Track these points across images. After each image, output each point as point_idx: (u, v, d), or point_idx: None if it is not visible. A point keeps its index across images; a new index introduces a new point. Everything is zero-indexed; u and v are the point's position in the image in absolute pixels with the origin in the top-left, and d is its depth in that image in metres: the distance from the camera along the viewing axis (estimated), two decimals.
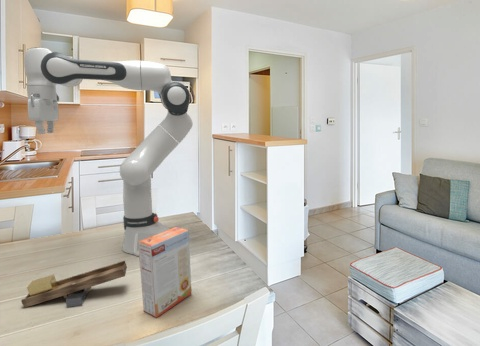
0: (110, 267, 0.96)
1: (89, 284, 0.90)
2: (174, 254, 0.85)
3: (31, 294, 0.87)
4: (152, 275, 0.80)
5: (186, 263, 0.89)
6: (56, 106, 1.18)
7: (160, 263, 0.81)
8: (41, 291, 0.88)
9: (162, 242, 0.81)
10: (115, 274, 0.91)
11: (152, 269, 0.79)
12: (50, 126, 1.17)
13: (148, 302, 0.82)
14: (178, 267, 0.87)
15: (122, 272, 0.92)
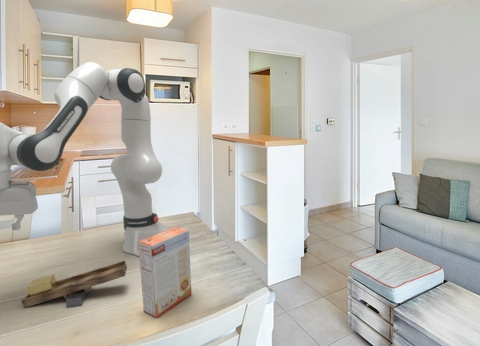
0: (110, 267, 0.96)
1: (89, 284, 0.90)
2: (174, 254, 0.85)
3: (31, 294, 0.87)
4: (152, 275, 0.80)
5: (186, 263, 0.89)
6: None
7: (160, 263, 0.81)
8: (41, 291, 0.88)
9: (162, 242, 0.81)
10: (115, 274, 0.91)
11: (152, 269, 0.79)
12: None
13: (148, 302, 0.82)
14: (178, 267, 0.87)
15: (122, 272, 0.92)
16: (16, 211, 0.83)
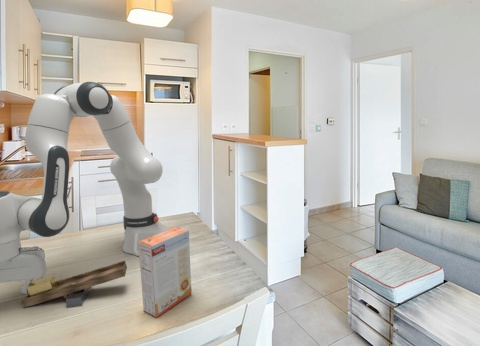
0: (110, 267, 0.96)
1: (89, 284, 0.90)
2: (174, 254, 0.85)
3: (31, 294, 0.87)
4: (152, 275, 0.80)
5: (186, 263, 0.89)
6: None
7: (160, 263, 0.81)
8: (41, 291, 0.88)
9: (162, 242, 0.81)
10: (115, 274, 0.91)
11: (152, 269, 0.79)
12: None
13: (148, 302, 0.82)
14: (178, 267, 0.87)
15: (122, 272, 0.92)
16: (26, 277, 0.86)
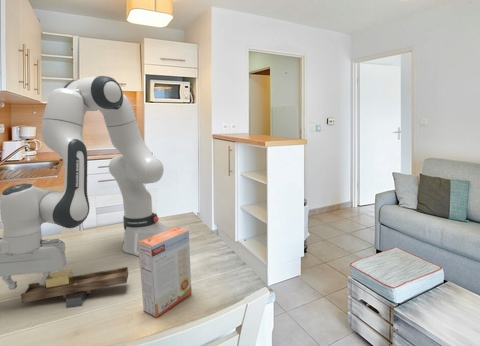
0: (112, 272, 0.96)
1: (90, 287, 0.90)
2: (174, 254, 0.85)
3: (48, 287, 0.88)
4: (152, 275, 0.80)
5: (186, 263, 0.89)
6: None
7: (160, 263, 0.81)
8: (58, 285, 0.88)
9: (162, 242, 0.81)
10: (117, 280, 0.92)
11: (152, 269, 0.79)
12: (10, 280, 0.87)
13: (148, 302, 0.82)
14: (178, 267, 0.87)
15: (124, 279, 0.92)
16: (47, 269, 0.87)
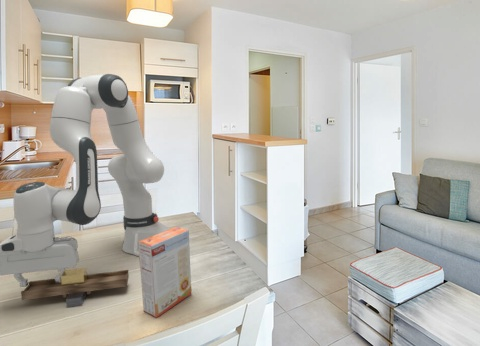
0: (113, 274, 0.96)
1: (91, 288, 0.90)
2: (174, 254, 0.85)
3: (63, 283, 0.89)
4: (152, 275, 0.80)
5: (186, 263, 0.89)
6: None
7: (160, 263, 0.81)
8: (73, 282, 0.89)
9: (162, 242, 0.81)
10: (118, 282, 0.92)
11: (152, 269, 0.79)
12: (21, 278, 0.88)
13: (148, 302, 0.82)
14: (178, 267, 0.87)
15: (125, 282, 0.93)
16: (60, 266, 0.88)
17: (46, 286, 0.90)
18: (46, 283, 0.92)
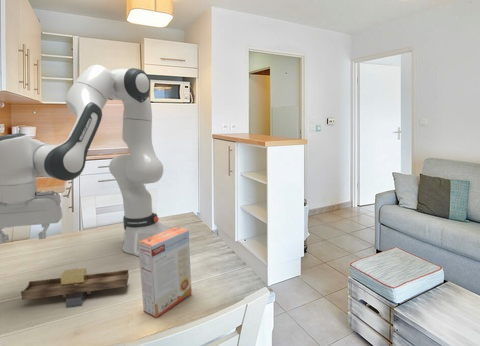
0: (113, 274, 0.96)
1: (91, 288, 0.90)
2: (174, 254, 0.85)
3: (63, 284, 0.89)
4: (152, 275, 0.80)
5: (186, 263, 0.89)
6: None
7: (160, 263, 0.81)
8: (73, 282, 0.89)
9: (162, 242, 0.81)
10: (118, 282, 0.92)
11: (152, 269, 0.79)
12: (1, 233, 0.85)
13: (148, 302, 0.82)
14: (178, 267, 0.87)
15: (125, 282, 0.93)
16: (43, 221, 0.85)
17: (46, 286, 0.90)
18: (46, 283, 0.92)
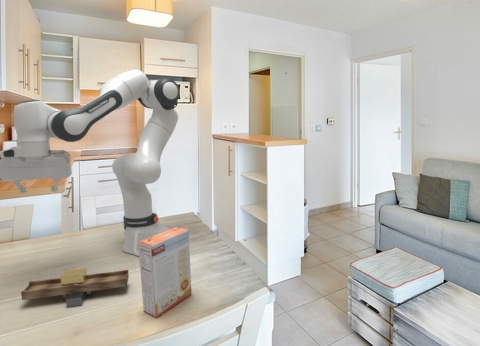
0: (113, 274, 0.96)
1: (91, 288, 0.90)
2: (174, 254, 0.85)
3: (63, 284, 0.89)
4: (152, 275, 0.80)
5: (186, 263, 0.89)
6: None
7: (160, 263, 0.81)
8: (73, 282, 0.89)
9: (162, 242, 0.81)
10: (118, 282, 0.92)
11: (152, 269, 0.79)
12: (20, 185, 0.99)
13: (148, 302, 0.82)
14: (178, 267, 0.87)
15: (125, 282, 0.93)
16: (55, 175, 1.00)
17: (46, 286, 0.90)
18: (46, 283, 0.92)
